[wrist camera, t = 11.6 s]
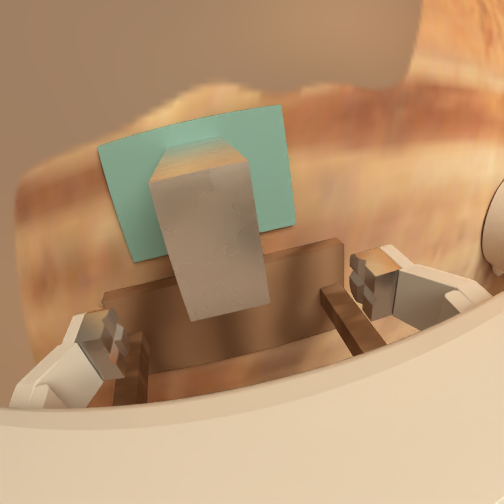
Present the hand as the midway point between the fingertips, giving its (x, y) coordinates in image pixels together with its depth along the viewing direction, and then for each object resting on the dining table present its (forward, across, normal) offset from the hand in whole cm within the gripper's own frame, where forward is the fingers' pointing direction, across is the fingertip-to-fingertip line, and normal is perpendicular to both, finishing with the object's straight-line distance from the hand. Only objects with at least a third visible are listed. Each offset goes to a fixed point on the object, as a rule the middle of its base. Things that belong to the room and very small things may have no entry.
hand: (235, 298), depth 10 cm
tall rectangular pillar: (+15, +1, 0) cm, 15 cm away
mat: (+15, +1, 0) cm, 15 cm away
